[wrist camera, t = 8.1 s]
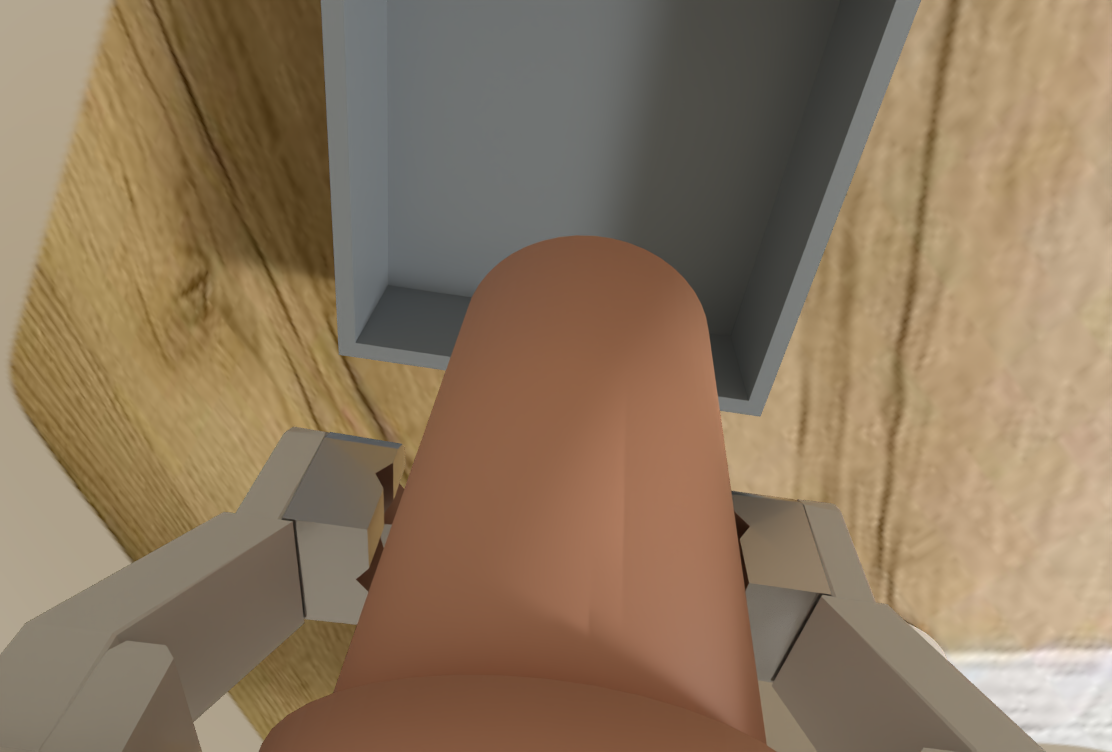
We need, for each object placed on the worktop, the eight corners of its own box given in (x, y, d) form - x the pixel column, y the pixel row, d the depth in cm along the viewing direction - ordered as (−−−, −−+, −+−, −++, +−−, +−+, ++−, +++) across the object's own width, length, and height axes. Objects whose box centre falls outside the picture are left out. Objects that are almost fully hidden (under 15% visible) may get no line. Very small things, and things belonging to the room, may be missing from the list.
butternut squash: (791, 271, 10) (1046, 1008, 4) (663, 479, 13) (688, 1094, 7) (477, 163, 10) (170, 822, 3) (416, 407, 13) (191, 1004, 6)
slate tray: (739, 343, 29) (760, 416, 25) (377, 289, 29) (338, 354, 25) (885, -89, 21) (954, -86, 16) (371, -175, 20) (311, -192, 16)
